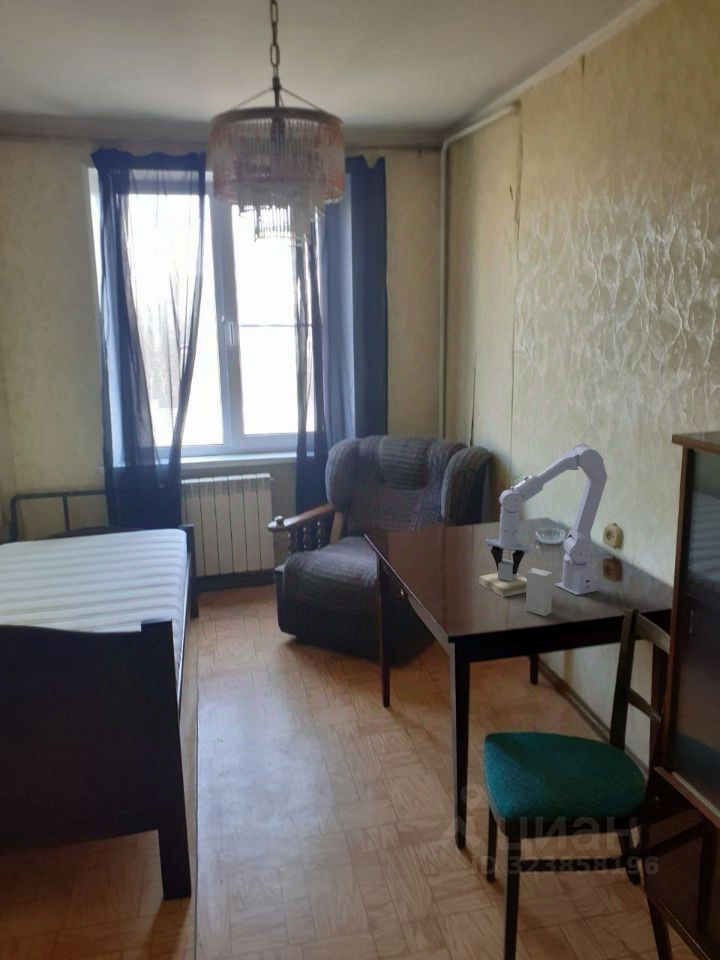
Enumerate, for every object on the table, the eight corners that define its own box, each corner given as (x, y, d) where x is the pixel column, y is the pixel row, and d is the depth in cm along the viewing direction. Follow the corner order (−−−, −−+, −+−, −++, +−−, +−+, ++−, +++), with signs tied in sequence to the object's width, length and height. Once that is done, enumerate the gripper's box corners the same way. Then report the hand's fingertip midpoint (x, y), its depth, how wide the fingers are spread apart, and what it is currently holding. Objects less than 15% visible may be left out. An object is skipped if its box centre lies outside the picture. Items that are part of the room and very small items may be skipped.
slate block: (516, 577, 215) (517, 561, 214) (511, 581, 212) (512, 565, 210) (502, 574, 218) (503, 559, 216) (497, 578, 214) (498, 563, 213)
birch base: (534, 590, 212) (535, 582, 212) (503, 597, 207) (503, 589, 206) (509, 577, 223) (509, 570, 222) (478, 583, 217) (479, 576, 217)
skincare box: (551, 612, 196) (554, 571, 193) (543, 617, 193) (546, 576, 190) (532, 606, 200) (534, 566, 198) (524, 611, 197) (526, 570, 194)
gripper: (536, 529, 210) (534, 572, 213) (491, 522, 218) (489, 563, 221) (529, 536, 204) (526, 579, 207) (482, 528, 212) (481, 570, 215)
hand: (507, 571), depth 214 cm, fingers closed on slate block, 4 cm apart
